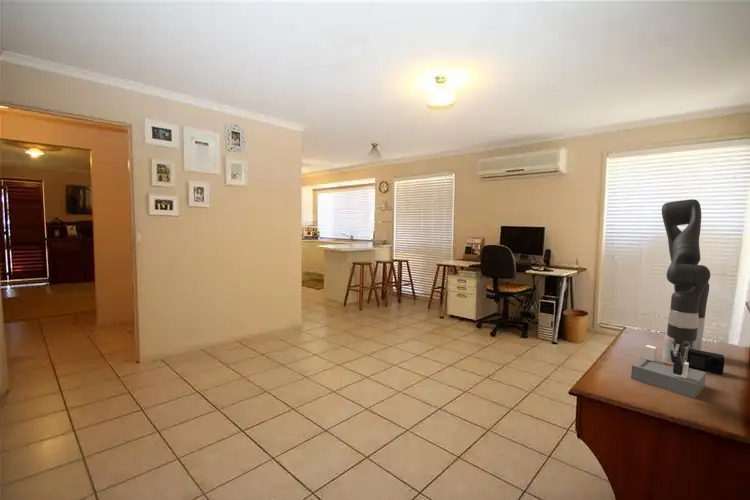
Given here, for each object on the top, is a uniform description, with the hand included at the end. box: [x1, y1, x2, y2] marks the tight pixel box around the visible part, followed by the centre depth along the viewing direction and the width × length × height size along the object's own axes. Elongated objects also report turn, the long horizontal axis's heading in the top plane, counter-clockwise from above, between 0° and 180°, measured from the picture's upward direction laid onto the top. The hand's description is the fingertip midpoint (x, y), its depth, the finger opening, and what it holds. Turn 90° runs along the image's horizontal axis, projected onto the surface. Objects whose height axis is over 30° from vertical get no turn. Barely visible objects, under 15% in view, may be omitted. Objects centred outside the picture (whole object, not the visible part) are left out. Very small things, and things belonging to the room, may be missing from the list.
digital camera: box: [686, 349, 726, 376], centre depth 138 cm, size 10×5×7 cm, turn 50°
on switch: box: [643, 344, 658, 361], centre depth 136 cm, size 2×3×5 cm
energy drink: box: [661, 333, 675, 363], centre depth 143 cm, size 5×5×12 cm
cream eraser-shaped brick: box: [674, 361, 689, 379], centre depth 122 cm, size 2×3×5 cm
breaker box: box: [630, 356, 707, 399], centre depth 129 cm, size 14×18×6 cm
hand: (677, 373), depth 119 cm, fingers closed
